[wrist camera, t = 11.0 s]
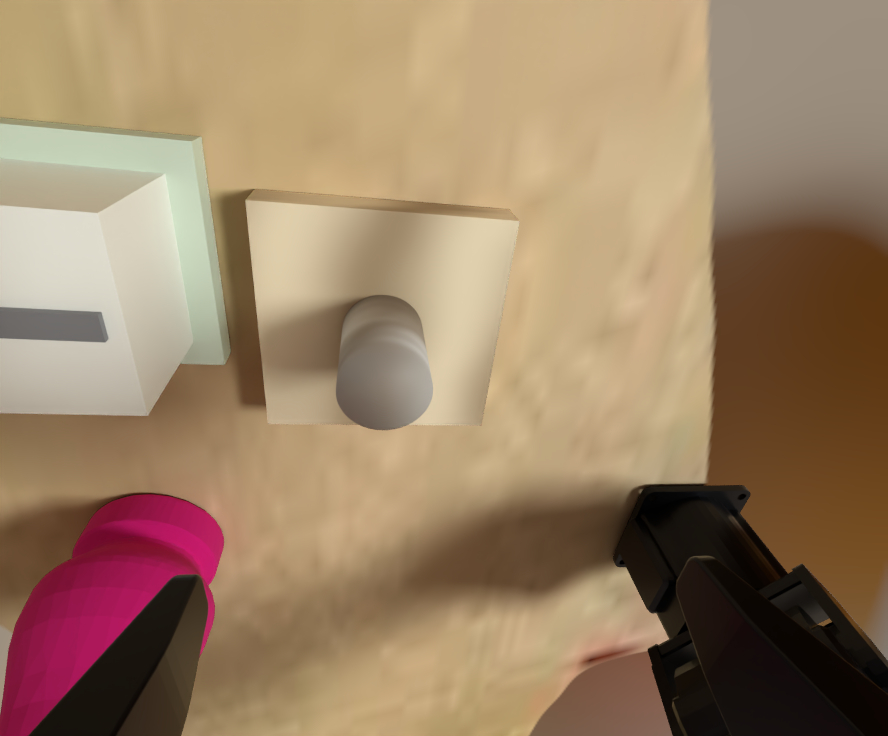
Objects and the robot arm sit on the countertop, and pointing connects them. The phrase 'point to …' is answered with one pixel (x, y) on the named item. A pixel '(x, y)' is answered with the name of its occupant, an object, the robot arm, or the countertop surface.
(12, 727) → the pepper mill
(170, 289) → the white cabinet cube
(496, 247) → the post base
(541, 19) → the countertop surface
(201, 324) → the pad
